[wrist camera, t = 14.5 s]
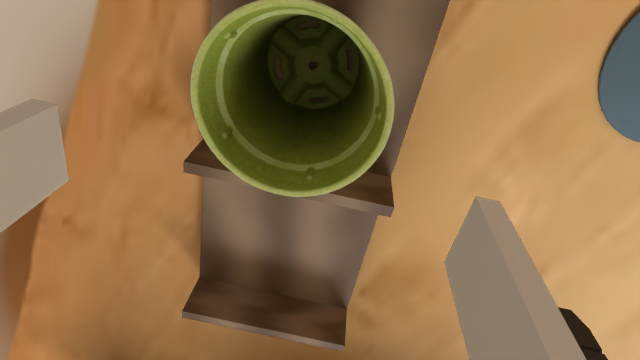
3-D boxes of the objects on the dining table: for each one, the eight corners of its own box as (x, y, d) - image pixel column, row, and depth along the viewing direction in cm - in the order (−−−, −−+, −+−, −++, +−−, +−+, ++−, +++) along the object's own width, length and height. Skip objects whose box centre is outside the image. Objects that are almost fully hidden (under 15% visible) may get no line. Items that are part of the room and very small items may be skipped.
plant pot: (260, 137, 28) (223, 204, 21) (223, -3, 24) (158, 18, 16) (391, 122, 27) (401, 188, 19) (378, -32, 22) (385, -23, 15)
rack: (461, -48, 22) (484, -47, 18) (345, 304, 38) (342, 351, 33) (222, -101, 22) (186, -115, 18) (203, 273, 38) (182, 317, 33)
